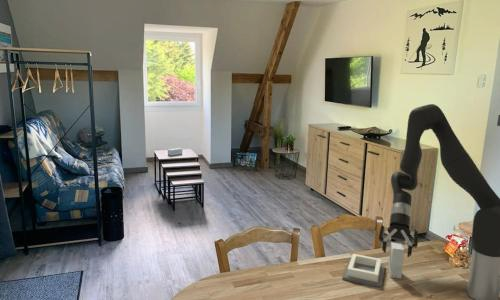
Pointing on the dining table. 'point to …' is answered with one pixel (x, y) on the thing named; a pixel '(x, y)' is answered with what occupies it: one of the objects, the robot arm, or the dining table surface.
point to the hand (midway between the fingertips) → (396, 254)
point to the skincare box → (396, 260)
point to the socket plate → (364, 270)
